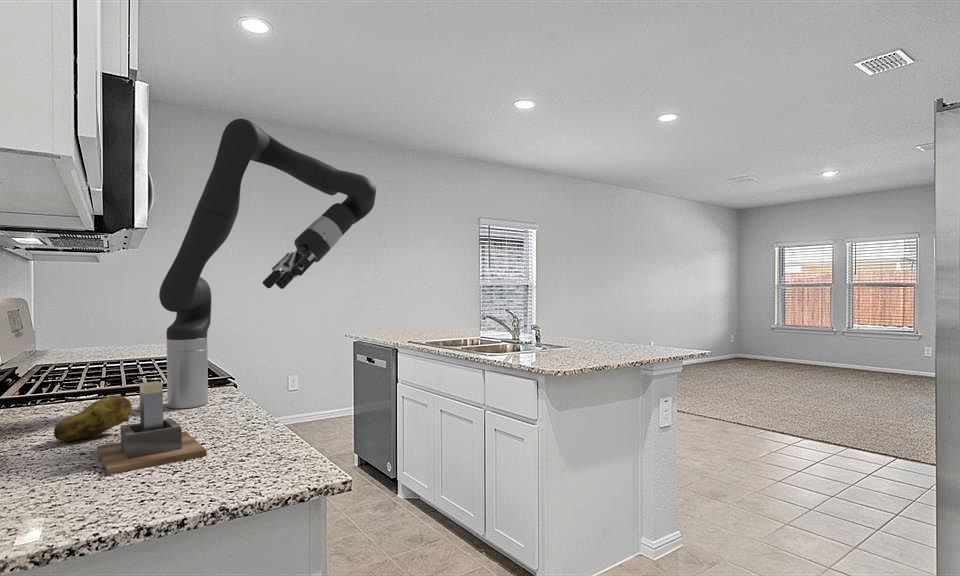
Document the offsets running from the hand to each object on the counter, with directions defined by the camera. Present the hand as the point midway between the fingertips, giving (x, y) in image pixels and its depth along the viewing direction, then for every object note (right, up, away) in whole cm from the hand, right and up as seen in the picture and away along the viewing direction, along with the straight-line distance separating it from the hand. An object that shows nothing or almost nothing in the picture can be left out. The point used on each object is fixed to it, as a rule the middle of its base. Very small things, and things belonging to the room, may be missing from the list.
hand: (271, 286), depth 125 cm
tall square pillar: (-13, -30, -25) cm, 41 cm away
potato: (-31, -31, -14) cm, 46 cm away
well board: (-13, -31, -25) cm, 42 cm away
